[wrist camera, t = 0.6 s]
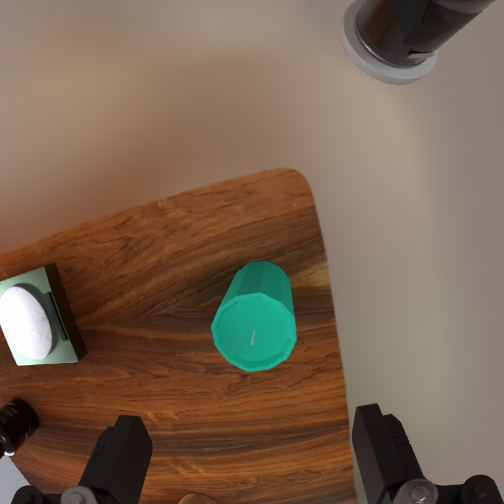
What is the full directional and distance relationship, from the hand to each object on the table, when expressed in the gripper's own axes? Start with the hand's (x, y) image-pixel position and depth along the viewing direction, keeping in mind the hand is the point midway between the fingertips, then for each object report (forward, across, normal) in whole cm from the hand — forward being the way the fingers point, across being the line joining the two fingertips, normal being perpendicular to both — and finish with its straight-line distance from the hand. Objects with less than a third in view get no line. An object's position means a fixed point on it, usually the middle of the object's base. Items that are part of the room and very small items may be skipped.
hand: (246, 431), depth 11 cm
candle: (+22, 0, +4) cm, 22 cm away
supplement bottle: (+21, +41, +25) cm, 53 cm away
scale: (+23, +29, +7) cm, 38 cm away
